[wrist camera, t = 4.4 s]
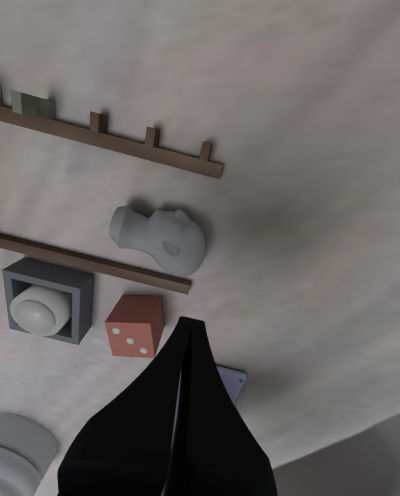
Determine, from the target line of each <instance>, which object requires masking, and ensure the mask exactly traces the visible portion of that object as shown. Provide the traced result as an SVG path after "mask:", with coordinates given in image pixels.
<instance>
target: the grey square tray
mask: <svg viewBox="0 0 400 496" xmlns="http://www.w3.org/2000/svg"><path fill="white" fill-rule="evenodd" d="M2 272H3V279H4V287H5V295H6V303H7V310H8V318H9V326H10V329H14V330H18V331H22V332H26V333H30V332H27V331H26V330H24V329H23V328H21V327H20V326H19V325H18V324H17V323H16V322H15V320H14V319H13V317H12V315H11V312H10V304H11V302H12V300H13V299H14V298H15V297H17V296H18V295H19V294H21V293H22V292H24V291H25V290H26V289H28V288H29V287H30V286H32V285H33V284H36V285H40V286H44V287H48V288H52V289H57V290H61V291H65V292H69V293H72V318H70V319H69V320H68V321H67V322H66V323H65V325H64V326H63V327H62V328H61V329H60V330H59V331H58V332H57V333H56V334H54V335H51V336H43V337H47V338H52V339H56V340H60V341H64V342H69V343H73V344H77V345H79V343H80V342H81V340H82V339H83V337H84V336H85V335H86V333H87V332H88V330H89V329H90V328H91V315H92V299H93V283H94V275H93V274H89V273H85V272H81V271H77V270H73V269H68V268H64V267H60V266H56V265H52V264H48V263H44V262H40V261H36V260H32V259H28V258H22V259H21V260H19V261H17V262H15V263H13V264H12V265H10V266H8V267H6V268H5V269H3V270H2ZM31 334H32V333H31Z"/></svg>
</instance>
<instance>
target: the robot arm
mask: <svg viewBox="0 0 400 496" xmlns="http://www.w3.org/2000/svg"><path fill="white" fill-rule="evenodd" d="M246 379H247V375H246V373H244V372H240V371H236V370H231V369H227V368H223V367H219V366H216V364H215V361H214V358H213V355H212V352H211V348H210V345H209V341H208V337H207V333H206V327H205V323H204V321H201V320H196V319H192V318H188V317H183V316H181V317H179V320H178V323H177V325H176V327H175V329H174V331H173V332H172V334H171V336H170V337H169V339H168V340H167V342H166V343H165V345H164V346H163V348H162V349H161V350H160V352H159V353H158V354H157V356H156V357H155V358H154V359H153V361H152V362H151V363H150V364H149V365H148V366H147V368H146V369H145V370H144V371H143V372H142V373H141V374H140V375H139V376H138V377H137V378H136V379H135V380H134V381H133V382H132V383H131V384H130V385H129V386H128V387H127V388H126V389H125V390H124V391H123V392H121V393H120V394H119V395H118V396H117V397H116V398H115V399H114V400H112V401H111V402H110V403H109V404H108V405H106V406H105V407H104V408H103V409H101V410H100V411H99V412H97V413H96V414H95V415H94V416H92V417H91V418H90V419H89V420H88V422H87V423H86V424H85V425H84V427H83V428H82V429H81V431H80V432H79V433H78V435H77V436H76V438H75V439H74V441H73V442H72V444H71V446H70V447H69V449H68V451H67V453H66V455H65V457H64V459H63V461H62V463H61V465H60V467H59V469H58V474H57V476H58V490H59V493H58V495H57V496H278V495H277V488H276V483H275V480H274V476H273V471H272V468H271V464H270V461H269V458H268V457H267V455H266V454H265V453H264V451H263V450H262V448H261V447H260V446H259V444H258V443H257V441H256V440H255V438H254V437H253V435H252V434H251V432H250V431H249V429H248V427H247V426H246V424H245V423H244V421H243V419H242V418H241V416H240V414H239V412H238V411H237V406H236V399H237V397H238V395H239V393H240V391H241V389H242V387H243V385H244V383H245V381H246Z"/></svg>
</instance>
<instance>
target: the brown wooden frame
mask: <svg viewBox="0 0 400 496" xmlns="http://www.w3.org/2000/svg"><path fill="white" fill-rule="evenodd" d="M11 97H12V108H9V107H5V106H3V105H2V95H1V87H0V121H3V122H6V123H10V124H14V125H18V126H22V127H25V128H29V129H33V130H37V131H40V132H44V133H48V134H52V135H56V136H59V137H63V138H67V139H71V140H74V141H78V142H82V143H86V144H89V145H93V146H97V147H101V148H105V149H108V150H112V151H116V152H120V153H123V154H127V155H131V156H135V157H139V158H142V159H146V160H150V161H154V162H157V163H161V164H165V165H169V166H172V167H176V168H180V169H184V170H188V171H191V172H195V173H199V174H203V175H206V176H210V177H214V178H218V179H219V178H220V175H221V171H222V167H223V165H222V164H218V163H215V162H211V161H208V158H209V154H210V150H211V146H212V144H210V143H206V142H203V144H202V148H201V153H200V157H199V158H196V157H192V156H188V155H185V154H181V153H177V152H173V151H170V150H166V149H162V148H158V141H159V135H160V130H157V129H154V128H150V127H147V131H146V138H145V144H143V143H140V142H136V141H132V140H128V139H125V138H121V137H117V136H113V135H110V134H107V120H108V116H105V115H102V114H98V113H95V112H91V111H90V129H87V128H84V127H80V126H76V125H72V124H69V123H65V122H61V121H57V120H55V102H53V101H50V100H46V99H43V98H39V97H35V96H32V95H28V94H25V93H21V92H17V91H14V90H11ZM0 248H3V249H7V250H11V251H15V252H19V253H23V254H27V255H31V256H35V257H39V258H43V259H47V260H51V261H55V262H59V263H63V264H67V265H71V266H75V267H79V268H83V269H87V270H91V271H95V272H99V273H103V274H107V275H112V276H116V277H120V278H124V279H128V280H132V281H136V282H140V283H144V284H148V285H152V286H156V287H160V288H164V289H168V290H172V291H176V292H180V293H184V294H188V293H189V289H190V285H191V281H188V280H184V279H180V278H176V277H172V276H168V275H164V274H160V273H156V272H152V271H148V270H144V269H140V268H136V267H132V266H128V265H124V264H120V263H116V262H112V261H108V260H104V259H100V258H96V257H92V256H88V255H84V254H80V253H76V252H72V251H68V250H64V249H60V248H56V247H52V246H48V245H44V244H40V243H36V242H32V241H28V240H24V239H20V238H16V237H12V236H8V235H4V234H0Z"/></svg>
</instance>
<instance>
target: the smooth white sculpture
mask: <svg viewBox="0 0 400 496" xmlns="http://www.w3.org/2000/svg"><path fill="white" fill-rule="evenodd" d="M109 235H110V237H111V238H112V239H113V240H114V242H115V243H116V244H117V245H118V247H119V248H129V249H136V250H140V251H143V252H145V253H147V254H149V255H151V256H152V257H153V258H154V259H155V260H156V262H157V263H158V264H159V266H160V267H161V268H163V269H164V270H165V271H166V272H168V273H170V274H172V275H175V276H188V275H190V274H192V273H194V272H195V271H196V270H197V269H198V268H199V267H200V265H201V264H202V262H203V260H204V257H205V254H206V243H205V237H204V234H203V232H202V230H201V228H200V227H199V225H198V224H197V223H196V222H194V221H193V220H191V219H190V218H189V217H188V216H187V215H186V214H185V212H184V211H183V210H181V209H177V210H175V211H174V212H173V211H163V210H161V209H157V210H155V211H154V213H153V214H152V215H151V217H150V218H147V217H145V216H143V215H141V214H139V213H136V212H134V210H133V209H132V207H131V206H130V205H128V206H122V207H118V208H117V209H116V211H115V212H114V215H113V217H112V220H111V223H110V227H109Z"/></svg>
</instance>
